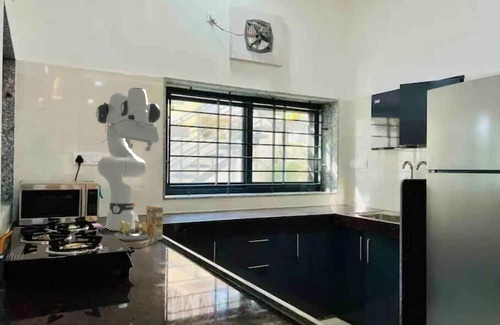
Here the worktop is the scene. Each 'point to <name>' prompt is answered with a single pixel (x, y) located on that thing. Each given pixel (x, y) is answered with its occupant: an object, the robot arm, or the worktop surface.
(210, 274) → the worktop surface
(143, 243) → the stand plate
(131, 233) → the cam disc
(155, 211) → the candy box
